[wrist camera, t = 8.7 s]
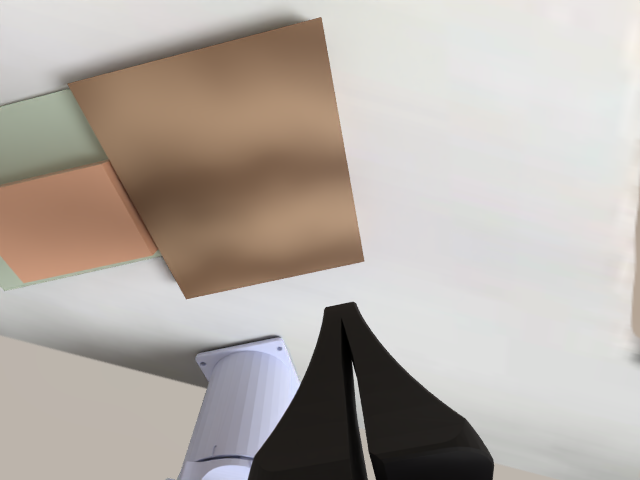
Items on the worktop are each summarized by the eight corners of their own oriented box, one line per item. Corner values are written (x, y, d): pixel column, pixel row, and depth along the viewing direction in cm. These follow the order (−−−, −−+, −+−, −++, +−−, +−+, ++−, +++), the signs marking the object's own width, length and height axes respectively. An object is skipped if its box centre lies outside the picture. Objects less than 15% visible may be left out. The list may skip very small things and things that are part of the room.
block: (359, 247, 22) (364, 261, 20) (195, 282, 23) (186, 299, 21) (319, 24, 16) (321, 17, 14) (92, 83, 17) (67, 83, 15)
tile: (165, 240, 21) (152, 255, 19) (46, 266, 21) (23, 283, 19) (121, 156, 18) (101, 163, 16) (-15, 188, 18) (-48, 198, 17)
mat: (171, 251, 22) (169, 254, 21) (9, 287, 22) (4, 291, 22) (84, 86, 17) (79, 85, 16) (-123, 140, 17) (-132, 141, 17)
